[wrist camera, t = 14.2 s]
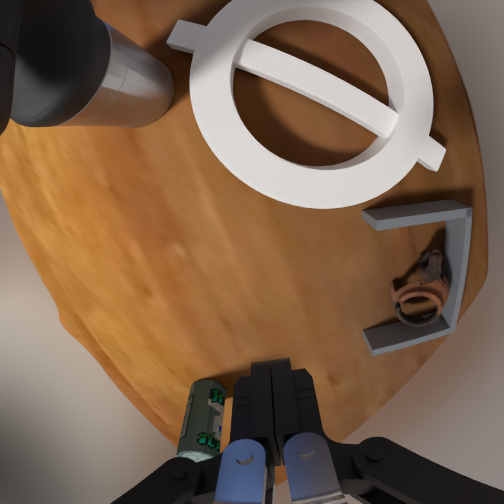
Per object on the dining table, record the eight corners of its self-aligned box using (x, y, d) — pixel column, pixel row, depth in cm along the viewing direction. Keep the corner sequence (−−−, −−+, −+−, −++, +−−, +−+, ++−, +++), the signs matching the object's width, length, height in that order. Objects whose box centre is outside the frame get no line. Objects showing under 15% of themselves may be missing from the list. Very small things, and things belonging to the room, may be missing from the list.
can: (225, 402, 49) (218, 470, 35) (192, 399, 49) (179, 465, 35) (225, 381, 47) (218, 453, 33) (190, 377, 47) (174, 448, 33)
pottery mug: (440, 295, 41) (440, 334, 36) (388, 288, 45) (383, 326, 40) (456, 235, 34) (464, 274, 29) (396, 228, 38) (394, 265, 33)
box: (362, 336, 43) (372, 355, 39) (362, 210, 36) (376, 220, 31) (440, 315, 42) (454, 331, 38) (452, 199, 35) (472, 207, 30)
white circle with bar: (166, 37, 28) (155, 24, 24) (365, -16, 24) (376, -31, 20) (249, 231, 38) (248, 244, 33) (436, 164, 34) (456, 169, 29)
